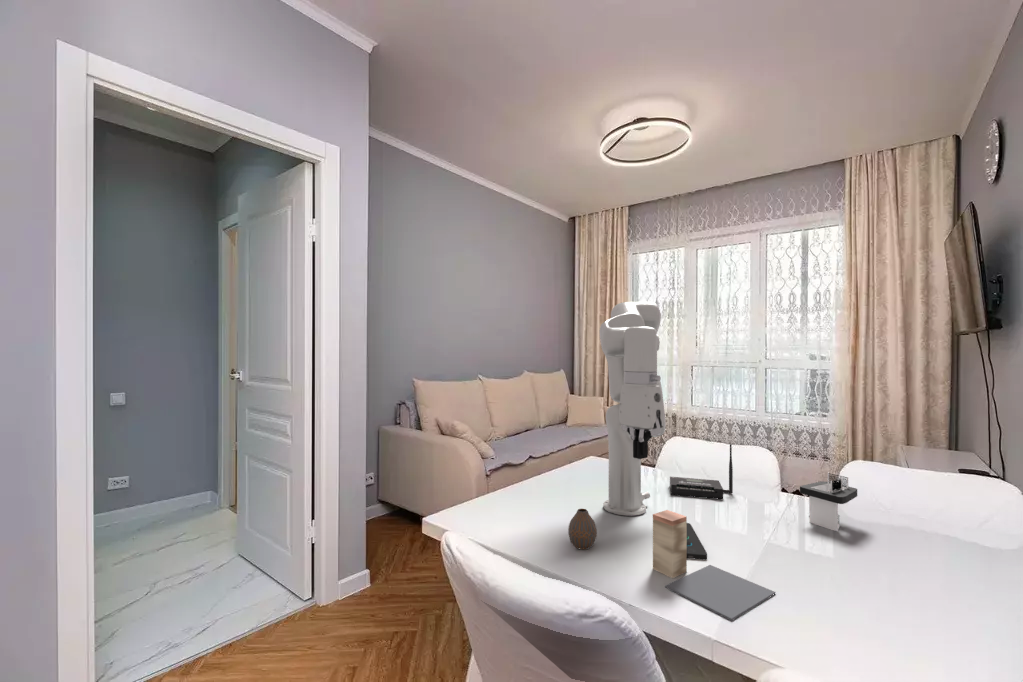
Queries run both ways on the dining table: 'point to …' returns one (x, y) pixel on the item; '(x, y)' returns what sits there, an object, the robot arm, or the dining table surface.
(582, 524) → the vase
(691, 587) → the mat
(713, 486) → the black wifi router
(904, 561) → the dining table surface
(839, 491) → the black-topped pedestal
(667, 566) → the maple block
